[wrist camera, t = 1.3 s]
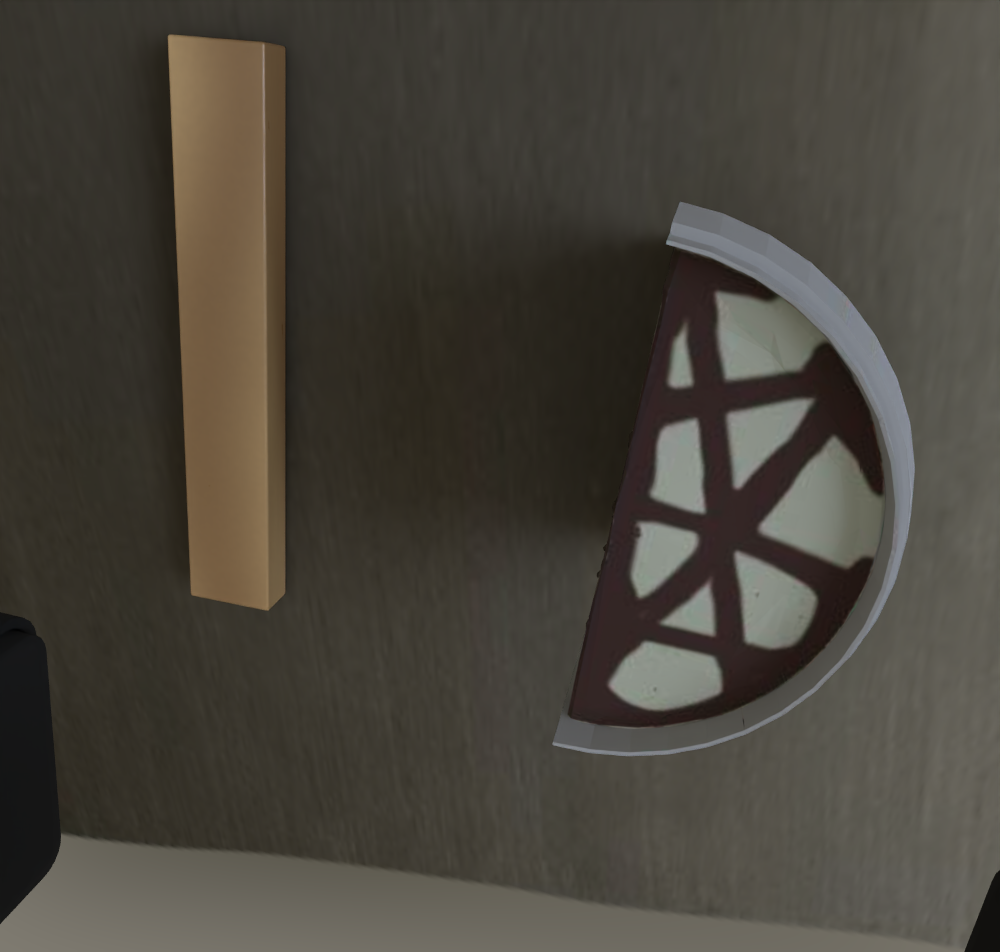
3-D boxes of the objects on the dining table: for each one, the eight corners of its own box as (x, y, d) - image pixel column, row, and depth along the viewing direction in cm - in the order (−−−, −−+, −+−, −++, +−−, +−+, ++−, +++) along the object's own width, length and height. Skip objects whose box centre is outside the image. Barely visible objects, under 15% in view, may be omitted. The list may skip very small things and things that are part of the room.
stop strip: (286, 46, 27) (264, 41, 26) (286, 593, 33) (268, 612, 32) (192, 38, 27) (166, 33, 26) (210, 578, 34) (190, 596, 33)
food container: (795, 622, 29) (823, 844, 20) (604, 573, 30) (548, 764, 21) (926, 225, 24) (1040, 278, 15) (695, 182, 25) (673, 209, 16)
